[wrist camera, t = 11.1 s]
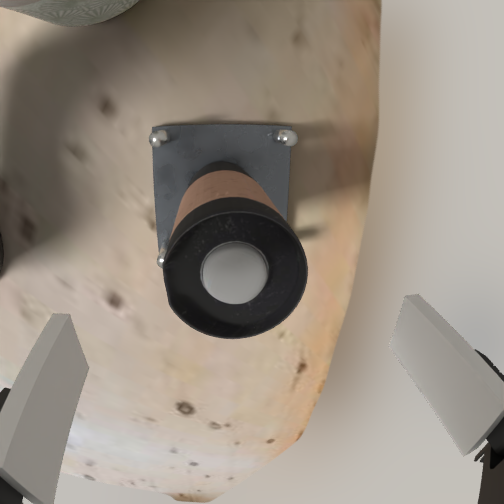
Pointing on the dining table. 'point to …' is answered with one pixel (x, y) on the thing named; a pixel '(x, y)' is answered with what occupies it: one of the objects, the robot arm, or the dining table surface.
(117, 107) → the dining table surface
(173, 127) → the stand
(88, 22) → the planter
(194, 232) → the travel mug
